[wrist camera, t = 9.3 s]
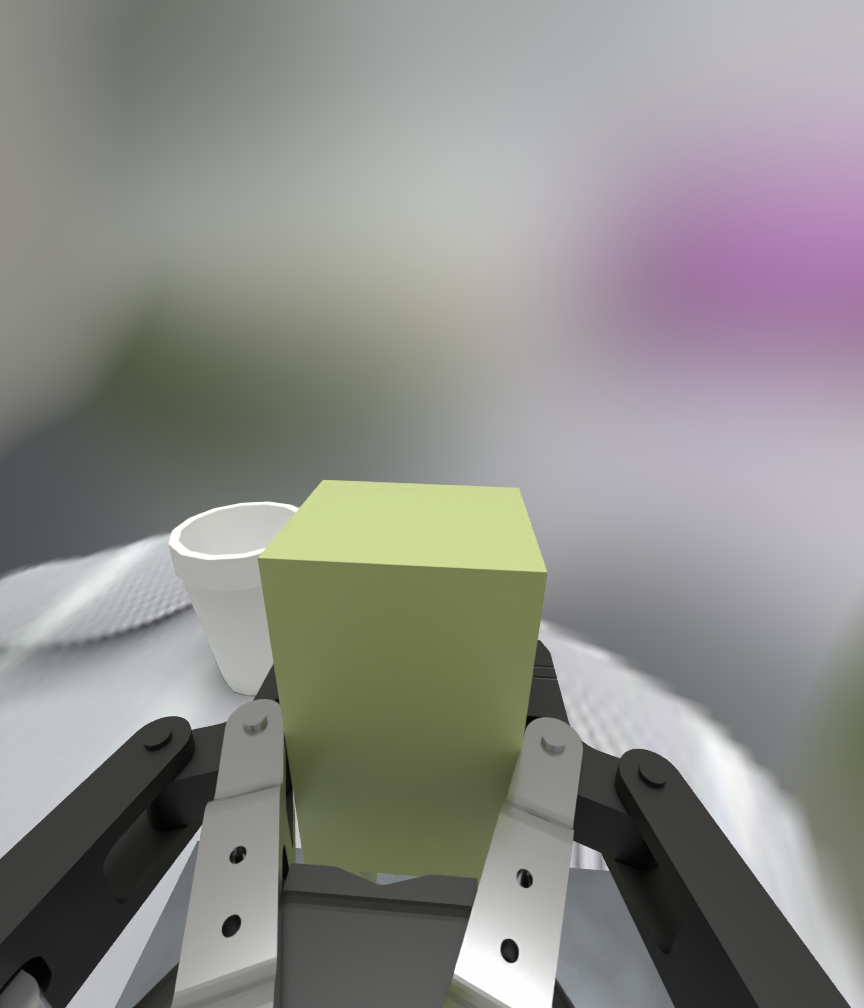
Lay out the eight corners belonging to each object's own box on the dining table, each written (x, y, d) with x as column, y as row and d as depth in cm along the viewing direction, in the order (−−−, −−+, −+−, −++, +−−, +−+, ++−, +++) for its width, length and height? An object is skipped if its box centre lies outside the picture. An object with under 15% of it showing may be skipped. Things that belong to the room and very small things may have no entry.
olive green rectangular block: (317, 949, 13) (257, 557, 8) (349, 808, 16) (323, 479, 11) (490, 965, 13) (547, 572, 7) (484, 818, 16) (518, 487, 11)
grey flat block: (92, 1135, 16) (68, 1102, 15) (208, 876, 23) (197, 841, 22) (719, 1198, 15) (745, 1169, 14) (633, 908, 22) (645, 873, 21)
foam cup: (238, 626, 42) (214, 499, 37) (334, 632, 41) (324, 504, 36) (179, 708, 33) (137, 556, 28) (301, 716, 33) (281, 563, 27)
